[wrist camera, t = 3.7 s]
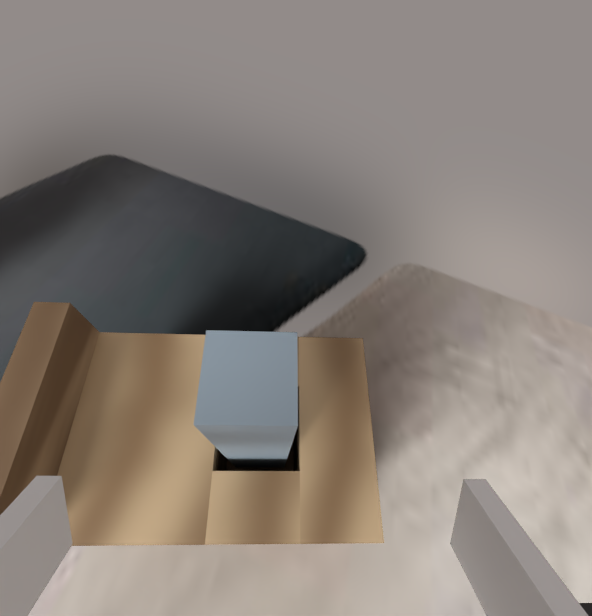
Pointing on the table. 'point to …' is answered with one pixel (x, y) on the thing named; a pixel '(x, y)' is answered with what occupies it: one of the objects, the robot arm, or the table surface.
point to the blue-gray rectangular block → (249, 395)
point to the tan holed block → (179, 441)
